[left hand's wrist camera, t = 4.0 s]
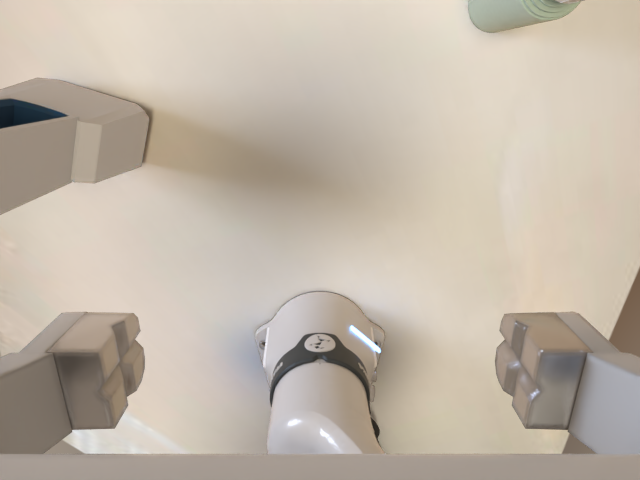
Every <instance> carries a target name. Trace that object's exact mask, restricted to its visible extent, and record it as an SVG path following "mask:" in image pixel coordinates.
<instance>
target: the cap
mask: <svg viewBox="0 0 640 480" xmlns="http://www.w3.org/2000/svg"><path fill="white" fill-rule="evenodd" d="M556 1H557V2H560V3H565V4H567V3H568V4H572V3H575V2H579V1H583V0H556Z"/></svg>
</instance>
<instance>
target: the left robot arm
mask: <svg viewBox="0 0 640 480" xmlns="http://www.w3.org/2000/svg"><path fill="white" fill-rule="evenodd" d="M139 332H140V326H139V321H138V317H137V316H136V315H135V314H134V313H102V312H89V313H88V312H66V313H61V314H60V315H59V316H58V317H57V318H56V319H55V320H54V321H53V322H51V323H50V324H49V325H48V326H47V327H46V328H45V329H44V330H43V331H42V332H41V333H40V334H39V335H37V336H36V337H35V338H34V339H33V340H32V341H31V342H30V343H29V344H28V345H27V346H26V347H25V348H23V349H22V350H21V351H20V352H19V353H10V354H7V355H5V356H3V357H0V480H640V357H637V356H635V355H633V354H630V353H621V352H620V351H619V350H618V349H617V348H616V347H614V346H613V345H612V344H611V343H610V342H609V341H608V340H607V339H606V338H605V337H604V336H603V335H602V334H600V333H599V332H598V331H597V330H596V329H595V328H594V327H593V326H592V325H591V324H590V323H589V322H588V321H587V320H585V319H584V318H583V317H582V316H581V315H580V314H579V313H575V312H547V313H509V314H504V316H503V318H502V320H501V325H500V332H501V334H502V335H503V337H504V338H505V340H504V341H503V342H502V343H501V344H500V345H499V346H498V347H497V350H496V357H495V366H496V374H497V378H498V381H499V383H500V385H501V387H502V389H503V391H505V392H506V393H508V394H510V395H511V396H513V402H512V406H513V408H514V410H515V412H516V413H517V415H518V417H519V418H520V420H521V422H522V424H523V425H524V427H525V429H560V430H568V432H569V433H570V434H572V435H573V436H574V437H576V438H577V439H578V440H580V441H581V442H582V443H583V444H585V445H586V446H587V447H589V448H590V449H591V450H593V451H594V452H595V453H597V454H385V453H384V451H383V450H382V449H381V447H380V445H379V442H378V439H377V438H378V436H379V433H380V430H379V427H378V425H377V424H376V423H375V422H374V420H373V419H372V418H371V417H370V413H371V412H370V406H369V403H370V402H373V401H374V397H375V387H374V386H373V385H371V384H372V382H376V379H377V372H376V371H375V370H376V367H377V364H378V360H379V357H380V353H381V350H382V346H383V343H384V339H385V334H384V331H383V330H382V329H381V328H380V327H379V326H377V325H375V324H374V323H372V322H370V321H369V320H368V319H367V318H366V317H365V315H364V314H363V312H362V311H361V310H360V309H359V307H358V306H357V305H355V304H354V303H353V302H352V301H350V300H349V299H347V298H345V297H343V296H341V295H338V294H335V293H330V292H310V293H305V294H302V295H299V296H297V297H295V298H293V299H291V300H290V301H288V302H287V303H286V304H285V305H283V306H282V307H281V309H280V310H279V311H278V312H277V314H276V315H275V317H274V318H273V319H272V320H271V321H270V322H268V323H266V324H265V325H263V326H261V327H260V328H259V329H258V330H257V331H256V335H255V339H256V343H257V346H258V350H259V353H260V357H261V360H262V363H263V367H264V370H265V374H266V377H267V381H268V384H269V388H270V403H271V407H272V409H271V416H270V423H269V430H268V437H267V450H268V454H44V453H45V452H46V451H48V450H49V449H50V448H51V447H53V446H54V445H55V444H57V443H58V442H59V441H61V440H62V439H63V438H65V437H66V436H67V435H69V434H70V433H71V432H72V430H79V429H115V427H116V425H117V424H118V422H119V420H120V418H121V417H122V415H123V413H124V412H125V410H126V408H127V406H128V402H127V396H129V395H130V394H132V393H134V392H135V391H137V389H138V387H139V385H140V383H141V381H142V377H143V373H144V369H145V356H144V349H143V347H142V346H141V345H140V344H139V343H138V342H137V341H136V340H135V338H136V337H137V335H138V334H139ZM263 342H266V343H265V344H264V343H263ZM374 342H377V343H376V344H375V343H374ZM373 429H374V430H373ZM374 431H375V432H374Z"/></svg>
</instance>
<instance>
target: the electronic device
mask: <svg viewBox="0 0 640 480" xmlns="http://www.w3.org/2000/svg"><path fill="white" fill-rule="evenodd" d="M148 125H149V117H148V115H147V114H146V112H145V111H144V110H143V109H142V108H141V107H140V106H139V105H138V104H135V103H132V102H129V101H126V100H122V99H119V98H116V97H113V96H110V95H106V94H103V93H100V92H97V91H93V90H90V89H87V88H84V87H80V86H77V85H74V84H71V83H68V82H64V81H61V80H55V79H46V78H34V79H31V80H28V81H25V82H22V83H19V84H16V85H13V86H10V87H6V88H3V89H0V215H1V214H3V213H5V212H8V211H10V210H12V209H14V208H16V207H19V206H21V205H23V204H25V203H27V202H30V201H32V200H34V199H36V198H38V197H41V196H43V195H45V194H47V193H49V192H52V191H54V190H56V189H58V188H60V187H63V186H65V185H67V184H69V183H71V182H72V181H73V182H79V183H97V182H100V181H102V180H105V179H108V178H111V177H113V176H116V175H119V174H122V173H124V172H127V171H130V170H133V169H135V168H138V167H141V166H142V160H143V154H144V148H145V142H146V136H147V130H148Z"/></svg>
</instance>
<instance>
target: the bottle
mask: <svg viewBox="0 0 640 480" xmlns="http://www.w3.org/2000/svg"><path fill="white" fill-rule="evenodd" d="M580 2H581V1H579V2H575V3H572V4H568V3H567V4H565V3H560V2H557V1H556V0H469V5H468V10H469V15H470V18H471V20H472V22H473V23H474V25H475V26H476V27H477V28H479V29H480V30H482V31H484V32H489V33H494V32H500V31H504V30H509V29H514V28H519V27H523V26H528V25H533V24H537V23H542V22H547V21H552V20H556V19H559V18H562V17H564V16H566V15H567V14H569V13H570V12H571V11H573V10H574V9H575V8H576V7H577V6H578V4H579V3H580Z"/></svg>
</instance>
